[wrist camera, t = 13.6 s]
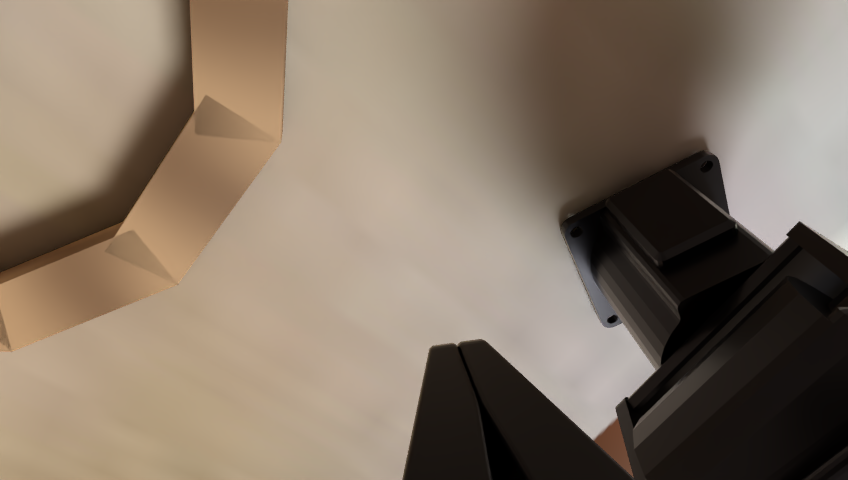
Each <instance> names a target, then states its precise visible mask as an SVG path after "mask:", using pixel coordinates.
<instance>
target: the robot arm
mask: <svg viewBox="0 0 848 480" xmlns="http://www.w3.org/2000/svg"><path fill="white" fill-rule="evenodd" d="M705 161H707V163H706V164H705V166H703V167H702V168H701V165H702V164H703V163H704V162H705ZM575 227H578V229H577V230H576V231H575V232H572V233H571V231H572V229H573V228H575ZM561 233H562V235H563V238H564V240H565V242H566V244H567V247H568V249H569V251H570V254H571V256H572V258H573V261H574V263H575V265H576V268H577V270H578V272H579V274H580V277H581V279H582V281H583V284H584V286H585V288H586V291H587V293H588V295H589V298H590V300H591V302H592V304H593V307H594V309H595V311H596V314H597V316H598V318H599V320H600V321H601V323H602V324H603V326H604V327H607V328H611V327H614V326H617V325H619V324H621V323H623V324H624V325H625V327H626V328H627V330H628V331H629V332H630V334H631V335H632V337H633V338H634V340H635V341H636V342H637V344H638V345H639V347H640V348H641V350H642V351H643V352H644V354H645V355H646V357H647V358H648V360H649V361H650V362H651V364H652V365H653V367H654V368H655V369H656V371H655V372H654V373H653V374H652V375H651V376H650V377H649V378H648V379H647V380H646V381H645V382H644V383H643V384H642V385H641V386H640V387H639V388H638V389H637V390H636V391H635V392H634V393H633V394H632V395H631V396H630V397H629V398H628V397H625V398H624V399H623V400H622V401H621V402H620V403H619V404H618V405H617V406H616V412H617V416H618V420H619V424H620V427H621V431H622V435H623V438H624V442H625V446H626V450H627V453H628V457H629V461H630V465H631V469H632V472H633V476H634V478H633V477H632V476H631V475H630V474H629V473H628V472H626V470H624V469H623V468H622V467H621V466H620V465H619V464H618V463H617V462H616V461H615V460H614V459H613V458H611V457H610V456H609V455H608V454H607V453H606V452H605V451H604V450H603V449H602V448H601V447H600V446H598V445H597V444H596V443H595V442H594V441H593V440H592V439H591V438H590V437H589V436H588V435H587V434H586V433H584V432H583V431H582V430H581V429H580V428H579V427H578V426H577V425H576V424H575V423H574V422H573V421H572V420H570V419H569V418H568V417H567V416H566V415H565V414H564V413H563V412H562V411H561V410H560V409H559V408H557V407H556V406H555V405H554V404H553V403H552V402H551V401H550V400H549V399H548V398H547V397H546V396H545V395H543V394H542V393H541V392H540V391H539V390H538V389H537V388H536V387H535V386H534V385H533V384H532V383H531V382H529V381H528V380H527V379H526V378H525V377H524V376H523V375H522V374H521V373H520V372H519V371H518V370H516V369H515V368H514V367H513V366H512V365H511V364H510V363H509V362H508V361H507V360H506V359H505V358H504V357H502V356H501V355H500V354H499V353H498V352H497V351H496V350H495V349H494V348H493V347H492V346H491V345H489V344H488V343H487V342H486V341H485V340H482V339H477V340H470V341H463V342H460V343H459V344H458V345H456V344H454V343H449V344H442V345H435V346H432V347H431V348H430V349H429V353H428V358H427V363H426V368H425V373H424V378H423V382H422V387H421V392H420V397H419V402H418V407H417V412H416V416H415V421H414V426H413V431H412V436H411V441H410V445H409V450H408V455H407V460H406V465H405V470H404V475H403V479H402V480H848V251H846V250H845V249H843V248H841V247H840V246H838V245H837V244H835V243H834V242H832V241H830V240H829V239H827V238H826V237H824V236H822V235H821V234H819V233H818V232H816V231H814V230H813V229H811V228H810V227H808V226H806V225H805V224H803V223H802V222H800V221H799V222H798V223H797V224H796V225H795V226H794V227H793V228H792V229H791V230H790V231H789V232H788V233H787V234H786V235H787V236H788V238H787V239H786V240H785V241H784V242H783V243H782V244H781V245H780V246H779V247H778V248H777V249H776V250H775V251H774V250H773V249H771V248H770V247H769V246H768V245H766V244H765V243H764V242H763V241H761V240H760V239H759V238H758V237H756V236H755V235H754V234H753V233H751V232H750V231H749V230H748V229H746V228H745V227H744V226H743V225H741V224H740V223H739V222H738V221H736V220H735V219H734V218H732V217H731V216H730V214H729V209H728V204H727V199H726V194H725V189H724V184H723V179H722V174H721V168H720V163H719V160H718V158H717V157H716V156H715V155H713V154H712V153H710V152H709V151H701V152H698V153H696V154H694V155H692V156H690V157H688V158H686V159H684V160H682V161H680V162H678V163H676V164H674V165H672V166H670V167H668V168H666V169H664V170H663V171H661V172H659V173H657V174H655V175H653V176H651V177H649V178H647V179H645V180H643V181H641V182H639V183H637V184H635V185H633V186H631V187H629V188H627V189H625V190H623V191H621V192H619V193H617V194H615V195H613V196H611V197H609V198H607V199H605V200H604V201H602V202H600V203H598V204H596V205H594V206H592V207H590V208H588V209H586V210H584V211H582V212H580V213H578V214H576V215H574V216H572V217H570V218H568V219H567V220H566V221H565V222H564V223H563V224H562V227H561ZM610 316H611V317H610ZM608 317H609V318H608Z"/></svg>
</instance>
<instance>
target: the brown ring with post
mask: <svg viewBox="0 0 848 480" xmlns="http://www.w3.org/2000/svg"><path fill="white" fill-rule="evenodd" d="M287 15H288V0H190V22H191V46H192V70H193V94H194V112H193V114H192V115H191V117H190V118H189V120H188V121H187V123H186V124H185V126H184V128H183V129H182V131H181V132H180V134H179V135H178V137H177V139H176V140H175V142H174V143H173V145H172V146H171V148H170V149H169V151H168V153H167V154H166V156H165V157H164V159H163V160H162V162H161V163H160V165H159V167H158V168H157V170H156V171H155V173H154V174H153V176H152V177H151V179H150V181H149V182H148V184H147V185H146V187H145V188H144V190H143V191H142V193H141V195H140V196H139V198H138V199H137V201H136V202H135V204H134V205H133V207H132V209H131V210H130V212H129V213H128V215H127V216H126V218H125V219H124V221H123V222H121V223H119V224H116V225H114V226H111V227H109V228H107V229H104V230H102V231H99V232H97V233H95V234H92V235H90V236H87V237H85V238H82V239H80V240H78V241H75V242H73V243H70V244H68V245H66V246H63V247H61V248H58V249H56V250H53V251H51V252H49V253H46V254H44V255H41V256H39V257H37V258H34V259H32V260H29V261H27V262H24V263H22V264H20V265H17V266H15V267H12V268H10V269H8V270H5V271H3V272H0V351H5V352H12V351H14V350H17V349H19V348H22V347H24V346H27V345H29V344H32V343H34V342H37V341H39V340H42V339H44V338H47V337H49V336H52V335H54V334H57V333H59V332H62V331H64V330H66V329H69V328H71V327H74V326H76V325H79V324H81V323H84V322H86V321H89V320H91V319H94V318H96V317H99V316H101V315H104V314H106V313H109V312H111V311H113V310H116V309H118V308H121V307H123V306H126V305H128V304H131V303H133V302H136V301H138V300H141V299H143V298H146V297H148V296H151V295H153V294H156V293H158V292H160V291H163V290H165V289H168V288H170V287H173V286H175V285H178V283H179V282H180V281H181V279H182V278H183V276H184V275H185V274H186V272H187V271H188V270H189V268H190V267H191V265H192V264H193V263H194V261H195V260H196V258H197V257H198V256H199V254H200V253H201V252H202V250H203V249H204V247H205V246H206V245H207V243H208V242H209V241H210V239H211V238H212V236H213V235H214V234H215V232H216V231H217V230H218V228H219V227H220V225H221V224H222V223H223V221H224V220H225V219H226V217H227V216H228V214H229V213H230V212H231V210H232V209H233V208H234V206H235V205H236V203H237V202H238V201H239V199H240V198H241V197H242V195H243V194H244V192H245V191H246V190H247V188H248V187H249V186H250V184H251V183H252V181H253V180H254V179H255V177H256V176H257V175H258V173H259V172H260V170H261V169H262V168H263V166H264V165H265V163H266V162H267V161H268V159H269V158H270V157H271V155H272V154H273V152H274V151H275V150H276V148H277V147H278V146H279V144H280V143H281V138H282V131H283V130H282V128H283V105H284V83H285V60H286V37H287Z"/></svg>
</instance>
